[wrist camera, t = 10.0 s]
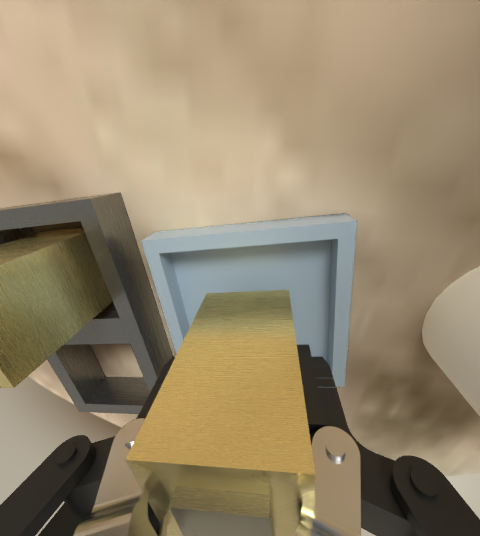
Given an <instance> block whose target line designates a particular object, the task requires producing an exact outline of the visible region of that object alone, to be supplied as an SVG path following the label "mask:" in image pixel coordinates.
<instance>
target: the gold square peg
mask: <svg viewBox="0 0 480 536" xmlns="http://www.w3.org/2000/svg"><path fill="white" fill-rule="evenodd" d="M126 462H127V464H128V466H129V467H130V469H131V471H132V473H133V475H134V477H135V478H136V480H137V482H138V483H143V484H145V486H146V488H147V489H148V491H149V498H148V502H149V504H150V506H151V508H152V510H153V511H154V513H155V515H156V517H157V518H159V519H164V521H165V523H166V525H167V536H295V534H296V529H297V524H298V521H299V519H300V515H301V510H302V504H303V498H310V499H315V468H314V461H313V454H312V447H311V440H310V434H309V427H308V420H307V413H306V406H305V399H304V392H303V385H302V378H301V371H300V364H299V357H298V350H297V343H296V336H295V329H294V322H293V315H292V309H291V302H290V295H289V290H270V291H247V292H223V293H206V295H205V297H204V299H203V301H202V303H201V306H200V308H199V310H198V312H197V314H196V316H195V318H194V320H193V322H192V324H191V326H190V328H189V330H188V332H187V334H186V336H185V338H184V340H183V342H182V345H181V347H180V349H179V351H178V353H177V355H176V357H175V359H174V361H173V363H172V365H171V367H170V369H169V371H168V373H167V375H166V377H165V379H164V381H163V384H162V386H161V388H160V390H159V392H158V394H157V396H156V398H155V400H154V402H153V404H152V406H151V408H150V410H149V412H148V414H147V416H146V418H145V420H144V423H143V425H142V427H141V429H140V431H139V433H138V435H137V437H136V439H135V441H134V443H133V445H132V447H131V449H130V451H129V453H128V455H127V457H126Z"/></svg>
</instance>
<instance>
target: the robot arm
mask: <svg viewBox="0 0 480 536" xmlns="http://www.w3.org/2000/svg"><path fill="white" fill-rule="evenodd" d="M297 350H298V357H299V364H300V371H301V378H302V385H303V392H304V399H305V406H306V413H307V420H308V427H309V434H310V440H311V447H312V454H313V461H314V468H315V499H310V498H303V504H302V510H301V515H300V519H299V521H298V524H297V529H296V534H295V536H361V528H363V529H365V530H367V531H368V532H370V533H372V534H374V535H376V536H480V519H479V518H478V517H477V516H476V515H475V513H474V512H473V511H472V509H471V508H470V507H469V506H468V505H467V503H466V502H465V501H464V500H463V498H462V497H461V496H460V495H459V493H458V492H457V491H456V490H455V488H454V487H453V486H452V485H451V483H450V482H449V481H448V480H447V479H446V477H445V476H444V475H443V474H442V473H441V472H440V471H439V470H438V469H437V468H436V467H434V466H433V465H432V464H430V463H429V462H427V461H425V460H423V459H421V458H418V457H415V456H402V457H399V458H398V459H397V460H396V461H394V460H391V459H389V458H386V457H384V456H381V455H379V454H376V453H374V452H371V451H369V450H368V449H366V448H365V447H363V446H362V445H361V444H360V443H359V442H357V441H356V439H355V438H354V437H353V436H352V434H351V433H350V431H349V429H348V426H347V423H346V419H345V416H344V413H343V409H342V406H341V402H340V399H339V395H338V392H337V389H336V385H335V382H334V379H333V375H332V371H331V368H330V365H329V364H328V363H327V362H326V360H325V359H324V358H323V357H312V356H311V351H310V347H309V344H300V345H297ZM174 359H175V357H172V358H171V359H170V360H169V361H168V362H167V363H166V364H165V365H164V367H163V369H162V371H161V373H160V376H159V377H158V379H157V380H156V382H155V385H154V386H153V388H152V390H151V392H150V394H149V396H148V398H147V400H146V402H145V403H144V405H143V407H142V409H141V411H140V413H139V415H138V417H137V418H136V419H135V420H133V421H131V422H129V423H127V424H126V425H125V426H124V427H122V428H121V430H120V431H119V432H118V433H117V435H116V436H114V437H111V438H108V439H105V440H101V441H98V442H95V443H91V441H90V440H89V438H88V437H87V436H84V435H80V436H79V435H78V436H75V437H72V438H70V439H68V440H66V441H65V442H63V443H62V444H61V445H60V446H59V447H57V448H56V449H55V450H54V451H53V452H52V453H51V455H49V457H47V459H45V461H44V462H43V463H42V464H41V465H40V466H39V467H38V468H37V469H36V470H35V471H34V472H33V473H32V474H31V475H30V476H29V477H28V478H27V479H26V480H25V481H24V482H23V483H22V484H21V485H20V486H19V487H18V488H17V489H16V490H15V491H14V492H13V493H12V494H11V495H10V496H9V497H8V498H7V499H6V500H5V501H4V502H3V503H2V504H1V505H0V536H35V535H36V534H37V533H38V532H39V530H40V529H41V528H42V527H43V525H44V524H45V523H46V522H47V520H48V519H49V518H50V517H51V516H52V514H53V513H54V512H55V511H56V510H57V508H58V507H59V506H60V505H61V503H62V502H63V501H64V502H65V503H64V504H63V506H62V507H61V508H60V509H59V511H58V512H57V513H56V514H55V516H54V517H53V518H52V519H51V520H50V522H49V523H48V524H47V525H46V527H45V528H44V529H43V530H42V531H41V533H40V534H39V535H38V536H167V525H166V523H165V521H164V519H159V518H157V517H156V515H155V513H154V511H153V510H152V508H151V506H150V504H149V502H148V498H149V491H148V489H147V488H146V486H145V484H143V483H138V482H137V480H136V478H135V477H134V475H133V473H132V471H131V469H130V467H129V466H128V464H127V462H126V457H127V455H128V453H129V451H130V449H131V447H132V445H133V443H134V441H135V439H136V437H137V435H138V433H139V431H140V429H141V427H142V425H143V423H144V420H145V418H146V416H147V414H148V412H149V410H150V408H151V406H152V404H153V402H154V400H155V398H156V396H157V394H158V392H159V390H160V388H161V386H162V384H163V381H164V379H165V377H166V375H167V373H168V371H169V369H170V367H171V365H172V363H173V361H174Z"/></svg>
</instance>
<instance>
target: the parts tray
mask: <svg viewBox="0 0 480 536" xmlns="http://www.w3.org/2000/svg"><path fill="white" fill-rule="evenodd" d="M356 227H357V220H355V219H354V218H352V217H351V216H349V215H348V214H346V213H342V214H332V215H322V216H312V217H302V218H291V219H281V220H271V221H261V222H251V223H241V224H231V225H221V226H211V227H201V228H190V229H180V230H170V231H160V232H155V233H153V234H152V235H150V236H148V237H147V238H145V239H144V240H142V241H141V242H142V245H143V248H144V252H145V255H146V258H147V261H148V264H149V268H150V271H151V274H152V277H153V281H154V284H155V287H156V290H157V293H158V297H159V300H160V303H161V306H162V310H163V313H164V316H165V319H166V322H167V326H168V329H169V332H170V335H171V338H172V342H173V345H174V348H175V351H176V355H177V353H178V351H179V349H180V347H181V345H182V342H183V340H184V338H185V336H186V334H187V332H188V330H189V328H190V326H191V324H192V322H193V320H194V318H195V316H196V314H197V312H198V310H199V308H200V306H201V303H202V301H203V299H204V297H205V295H206V293H223V292H247V291H270V290H289V295H290V302H291V309H292V315H293V322H294V329H295V336H296V343H297V345H300V344H309V347H310V351H311V356H312V357H323V358H324V359H325V360H326V362H327V363H328V364H329V365H330V368H331V371H332V375H333V379H334V382H335V385H336V387H345V374H346V360H347V347H348V334H349V320H350V307H351V294H352V280H353V267H354V254H355V241H356Z"/></svg>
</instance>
